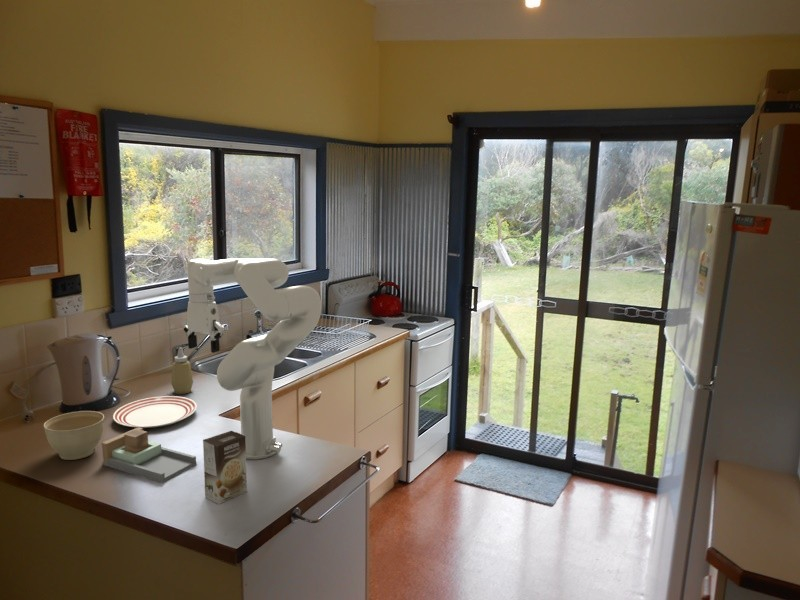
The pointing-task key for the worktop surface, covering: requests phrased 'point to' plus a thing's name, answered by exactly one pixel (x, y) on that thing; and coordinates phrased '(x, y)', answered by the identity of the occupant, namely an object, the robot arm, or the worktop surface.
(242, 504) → the worktop surface
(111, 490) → the worktop surface
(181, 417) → the dinner plate
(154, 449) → the socket block
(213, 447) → the coffee box
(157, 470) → the slide track
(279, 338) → the robot arm
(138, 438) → the brown wooden block
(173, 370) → the squeeze bottle
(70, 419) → the planter bowl
